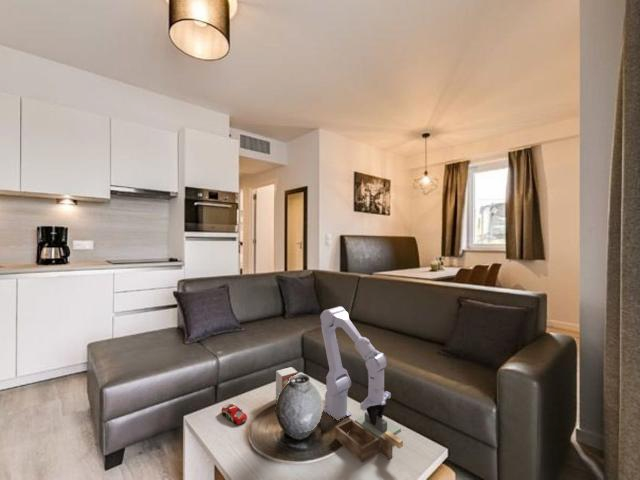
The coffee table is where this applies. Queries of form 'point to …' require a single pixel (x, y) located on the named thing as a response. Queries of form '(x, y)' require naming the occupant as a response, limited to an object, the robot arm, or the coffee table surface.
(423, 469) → the coffee table surface
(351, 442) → the toolbox
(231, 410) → the race car
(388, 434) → the wooden block
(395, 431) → the toolbox lid
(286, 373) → the small box
